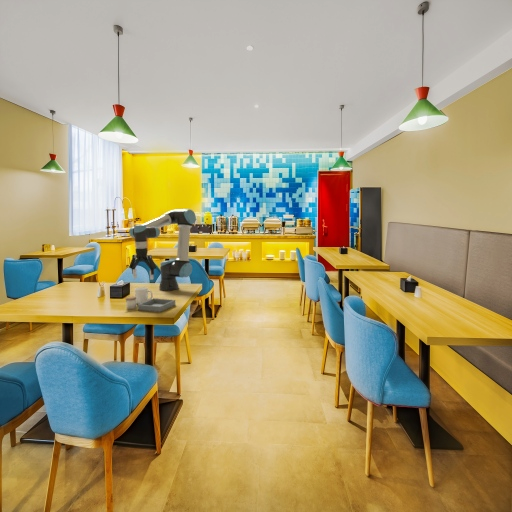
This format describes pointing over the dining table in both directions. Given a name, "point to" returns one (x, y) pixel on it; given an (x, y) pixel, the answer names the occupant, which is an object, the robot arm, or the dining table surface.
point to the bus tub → (156, 305)
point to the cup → (142, 294)
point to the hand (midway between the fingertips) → (143, 278)
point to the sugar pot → (131, 302)
